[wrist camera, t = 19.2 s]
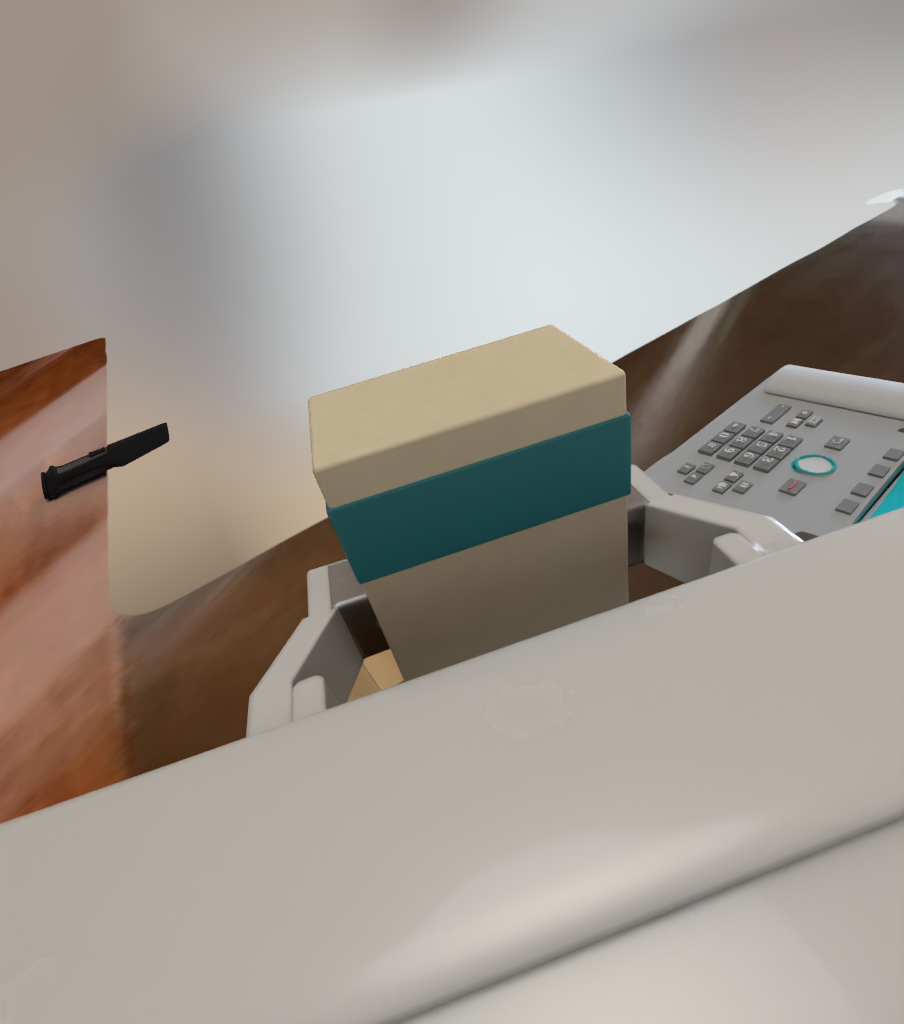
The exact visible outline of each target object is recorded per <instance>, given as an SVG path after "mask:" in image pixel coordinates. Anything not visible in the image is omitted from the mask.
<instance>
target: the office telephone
mask: <svg viewBox="0 0 904 1024" xmlns="http://www.w3.org/2000/svg"><path fill="white" fill-rule="evenodd" d="M903 468H904V383H899V382H892V381H886V380H880V379H874V378H867V377H861V376H855V375H849V374H842V373H836V372H830V371H824V370H818V369H812V368H806V367H801V366H795V365H786V366H784V367H782V368H781V369H780V370H778V371H777V372H776V373H774V374H773V375H772V376H770V377H769V378H768V379H766V380H765V381H764V382H763V383H761V384H760V385H759V386H757V387H756V388H755V389H753V390H752V391H751V392H750V393H748V394H747V395H746V396H744V397H743V398H742V399H741V400H739V401H738V402H737V403H735V404H734V405H733V406H731V407H730V408H729V409H728V410H726V411H725V412H724V413H722V414H721V415H720V416H719V417H717V418H716V419H715V420H713V421H712V422H711V423H709V424H708V425H707V426H706V427H704V428H703V429H702V430H700V431H699V432H698V433H697V434H695V435H694V436H693V437H691V438H690V439H689V440H688V441H686V442H685V443H684V444H682V445H681V446H680V447H678V448H677V449H676V450H675V451H673V452H672V453H670V454H669V455H667V456H665V457H663V458H662V459H661V460H659V461H658V462H657V463H655V464H654V465H652V466H651V467H650V468H648V469H647V470H646V471H645V472H644V473H645V474H646V475H648V476H649V477H650V478H651V479H652V480H653V481H654V482H656V483H657V484H658V485H659V486H660V487H661V488H662V489H664V490H665V491H666V492H667V493H668V494H669V495H670V496H671V495H674V494H678V495H682V496H687V497H691V498H695V499H699V500H703V501H707V502H711V503H716V504H720V505H724V506H728V507H732V508H736V509H741V510H745V511H749V512H753V513H757V514H761V515H765V516H770V517H773V518H774V519H775V520H777V521H778V522H779V523H781V524H782V525H783V526H785V527H786V528H787V529H789V530H790V531H791V532H793V533H794V534H795V535H797V536H798V537H799V538H801V539H802V540H803V541H808V540H811V539H813V538H816V537H819V536H822V535H825V534H828V533H831V532H833V531H836V530H839V529H842V528H845V527H848V526H850V525H853V524H856V523H858V522H859V521H860V520H861V518H862V517H863V516H864V515H865V513H866V512H867V511H868V510H869V509H870V507H871V506H872V505H873V504H874V502H875V501H876V500H877V499H878V498H879V496H880V495H881V494H882V493H883V492H884V490H885V489H886V488H887V487H888V486H889V484H890V483H891V482H892V481H893V480H894V478H895V477H896V476H897V475H898V474H899V473H900V472H901V470H902V469H903ZM902 507H904V471H903V472H902V473H901V474H900V476H899V477H898V478H897V479H896V480H895V481H894V483H893V484H892V485H891V486H890V487H889V488H888V490H887V491H886V492H885V493H884V494H883V496H882V497H881V498H880V499H879V500H878V501H877V503H876V504H875V505H874V506H873V507H872V508H871V510H870V511H869V512H868V513H867V514H866V515H865V517H864V518H863V519H862V520H861V521H860V522H862V521H865V520H868V519H870V518H873V517H876V516H879V515H882V514H885V513H887V512H890V511H893V510H896V509H899V508H902Z"/></svg>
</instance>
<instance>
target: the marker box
mask: <svg viewBox="0 0 904 1024" xmlns="http://www.w3.org/2000/svg"><path fill="white" fill-rule="evenodd" d="M308 408H309V423H310V437H311V451H312V465H313V473H314V475H315V478H316V480H317V483H318V485H319V487H320V489H321V492H322V494H323V496H324V498H325V501H326V510H327V514H328V517H329V519H330V521H331V524H332V526H333V528H334V530H335V533H336V535H337V537H338V539H339V542H340V544H341V546H342V548H343V551H344V553H345V555H346V557H347V560H348V562H349V564H350V566H351V569H352V571H353V573H354V575H355V578H356V580H357V582H358V583H359V584H362V585H363V588H364V590H365V592H366V595H367V597H368V599H369V601H370V604H371V606H372V608H373V611H374V613H375V615H376V617H377V620H378V622H379V624H380V627H381V629H382V631H383V633H384V636H385V638H386V640H387V643H388V645H389V647H390V649H391V652H392V654H393V656H394V659H395V661H396V663H397V665H398V668H399V670H400V672H401V675H402V677H403V679H404V681H405V682H406V681H409V680H412V679H415V678H418V677H421V676H424V675H426V674H429V673H432V672H435V671H438V670H441V669H444V668H446V667H449V666H452V665H455V664H458V663H461V662H463V661H466V660H469V659H472V658H475V657H478V656H481V655H483V654H486V653H489V652H492V651H495V650H498V649H501V648H503V647H506V646H509V645H512V644H515V643H518V642H520V641H523V640H526V639H529V638H532V637H535V636H537V635H540V634H543V633H546V632H549V631H552V630H554V629H557V628H560V627H563V626H566V625H569V624H571V623H574V622H577V621H580V620H583V619H586V618H588V617H591V616H594V615H597V614H600V613H603V612H606V611H608V610H611V609H614V608H617V607H620V606H623V605H626V604H628V528H627V495H630V494H631V416H630V414H629V413H628V412H627V411H626V375H625V373H624V371H623V370H621V369H620V368H618V367H617V366H615V365H614V364H612V363H610V362H609V361H607V360H606V359H604V358H603V357H601V356H599V355H598V354H597V353H595V352H593V351H592V350H590V349H589V348H587V347H586V346H584V345H583V344H581V343H580V342H578V341H576V340H575V339H573V338H572V337H570V336H569V335H567V334H566V333H564V332H562V331H561V330H559V329H558V328H556V327H555V326H553V325H548V326H544V327H541V328H538V329H534V330H531V331H528V332H525V333H521V334H518V335H515V336H511V337H508V338H505V339H502V340H498V341H495V342H491V343H488V344H485V345H482V346H478V347H475V348H472V349H468V350H465V351H462V352H458V353H455V354H452V355H449V356H445V357H442V358H438V359H435V360H432V361H429V362H426V363H422V364H419V365H415V366H412V367H409V368H406V369H402V370H399V371H395V372H392V373H389V374H385V375H382V376H379V377H376V378H372V379H369V380H365V381H362V382H359V383H356V384H352V385H349V386H346V387H343V388H339V389H336V390H332V391H329V392H326V393H322V394H319V395H316V396H313V397H310V398H309V399H308Z"/></svg>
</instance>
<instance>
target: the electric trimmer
mask: <svg viewBox="0 0 904 1024" xmlns="http://www.w3.org/2000/svg"><path fill="white" fill-rule="evenodd" d="M168 441H169V433H168V427H167V423H163V424H160V425H158V426H155V427H152V428H150V429H147V430H145V431H142V432H140V433H137V434H135V435H132V436H130V437H128V438H125V439H122V440H120V441H117V442H115V443H112V444H109V445H107V447H106V448H104V447H103V448H101V449H98V450H96V451H93V452H89V455H86V456H84V457H82V458H79V459H77V460H74V461H72V462H70V463H67V464H65V465H62V466H58V467H55V466H50V467H49V469H48V471H47V472H46V473H45V472H41V481H42V489H43V494H44V497H45V499H46V500H47V499H48V498H49V497H51V498H52V499H54V498H56V495H57V493H58V492H60V491H62V490H64V489H67V488H69V487H71V486H73V485H75V484H78V483H80V482H82V481H84V480H87V479H89V478H91V477H93V476H95V475H98V474H100V473H102V472H104V471H106V470H109V469H111V468H113V467H121V466H125V465H127V464H128V463H130V462H132V461H134V460H136V459H138V458H139V457H141V456H143V455H145V454H147V453H149V452H150V451H152V450H154V449H156V448H158V447H160V446H162V445H163V444H165V443H167V442H168Z"/></svg>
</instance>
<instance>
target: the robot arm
mask: <svg viewBox="0 0 904 1024" xmlns="http://www.w3.org/2000/svg"><path fill="white" fill-rule="evenodd" d="M627 528H628V567H630V566H633V565H637V564H640V563H643V562H644V564H646V565H648V566H650V567H652V568H654V569H657V570H659V571H661V572H663V573H665V574H667V575H669V576H672V577H674V578H676V579H678V580H680V581H682V582H684V583H686V584H683V585H680V586H677V587H674V588H671V589H668V590H666V591H663V592H660V593H657V594H654V595H651V596H648V597H646V598H643V599H640V600H637V601H634V602H631V603H628V604H626V605H623V606H620V607H617V608H614V609H611V610H608V611H606V612H603V613H600V614H597V615H594V616H591V617H588V618H586V619H583V620H580V621H577V622H574V623H571V624H569V625H566V626H563V627H560V628H557V629H554V630H552V631H549V632H546V633H543V634H540V635H537V636H535V637H532V638H529V639H526V640H523V641H520V642H518V643H515V644H512V645H509V646H506V647H503V648H501V649H498V650H495V651H492V652H489V653H486V654H483V655H481V656H478V657H475V658H472V659H469V660H466V661H463V662H461V663H458V664H455V665H452V666H449V667H446V668H444V669H441V670H438V671H435V672H432V673H429V674H426V675H424V676H421V677H418V678H415V679H412V680H409V681H406V682H404V683H401V684H398V685H395V686H392V687H389V688H387V689H384V690H381V691H378V692H375V693H372V694H369V695H367V696H364V697H361V698H358V699H355V700H352V701H349V702H347V700H348V698H349V695H350V693H351V691H352V688H353V686H354V683H355V681H356V679H357V676H358V674H359V671H360V669H361V667H362V664H363V662H364V660H363V659H365V658H367V657H370V656H373V655H375V654H378V653H381V652H383V651H386V650H389V649H390V647H389V645H388V643H387V640H386V638H385V636H384V633H383V631H382V629H381V627H380V624H379V622H378V620H377V617H376V615H375V613H374V611H373V608H372V606H371V604H370V601H369V599H368V597H367V595H366V592H365V590H364V588H363V585H362V584H359V583H358V582H357V580H356V578H355V575H354V573H353V571H352V569H351V566H350V564H349V562H348V560H347V559H345V560H342V561H338V562H335V563H332V564H329V565H326V566H323V567H319V568H316V569H313V570H310V571H309V572H308V574H307V589H308V616H309V617H307V618H304V619H303V620H302V621H301V622H300V624H299V625H298V627H297V628H296V630H295V631H294V633H293V634H292V636H291V637H290V638H289V640H288V641H287V643H286V644H285V646H284V647H283V649H282V650H281V652H280V653H279V654H278V656H277V657H276V659H275V660H274V662H273V663H272V665H271V666H270V668H269V669H268V670H267V672H266V673H265V675H264V676H263V678H262V679H261V681H260V682H259V684H258V685H257V686H256V688H255V689H254V691H253V692H252V694H251V695H250V697H249V708H248V721H247V733H246V738H244V739H241V740H238V741H235V742H233V743H230V744H227V745H224V746H221V747H218V748H215V749H213V750H210V751H207V752H204V753H201V754H198V755H195V756H193V757H190V758H187V759H184V760H181V761H178V762H175V763H173V764H170V765H167V766H164V767H161V768H158V769H155V770H153V771H150V772H147V773H144V774H141V775H138V776H136V777H133V778H130V779H127V780H124V781H121V782H118V783H116V784H113V785H110V786H107V787H104V788H101V789H98V790H96V791H93V792H90V793H87V794H84V795H81V796H78V797H76V798H73V799H70V800H67V801H64V802H61V803H59V804H56V805H53V806H50V807H47V808H44V809H41V810H39V811H36V812H33V813H30V814H27V815H24V816H21V817H18V818H15V819H12V820H9V821H6V822H3V823H0V1024H904V507H902V508H899V509H896V510H893V511H890V512H887V513H885V514H882V515H879V516H876V517H873V518H870V519H868V520H865V521H862V522H859V523H856V524H853V525H850V526H848V527H845V528H842V529H839V530H836V531H833V532H831V533H828V534H825V535H822V536H819V537H816V538H813V539H811V540H808V541H803V540H802V539H801V538H799V537H798V536H797V535H795V534H794V533H793V532H791V531H790V530H789V529H787V528H786V527H785V526H783V525H782V524H781V523H779V522H778V521H777V520H775V519H774V518H773V517H770V516H765V515H761V514H757V513H753V512H749V511H745V510H741V509H736V508H732V507H728V506H724V505H720V504H716V503H711V502H707V501H703V500H699V499H695V498H691V497H687V496H682V495H678V494H674V495H671V496H670V495H669V494H668V493H667V492H666V491H665V490H664V489H662V488H661V487H660V486H659V485H658V484H657V483H656V482H654V481H653V480H652V479H651V478H650V477H649V476H648V475H646V474H645V473H644V472H643V471H642V470H641V469H640V468H638V467H637V466H636V465H631V494H630V495H627Z"/></svg>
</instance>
